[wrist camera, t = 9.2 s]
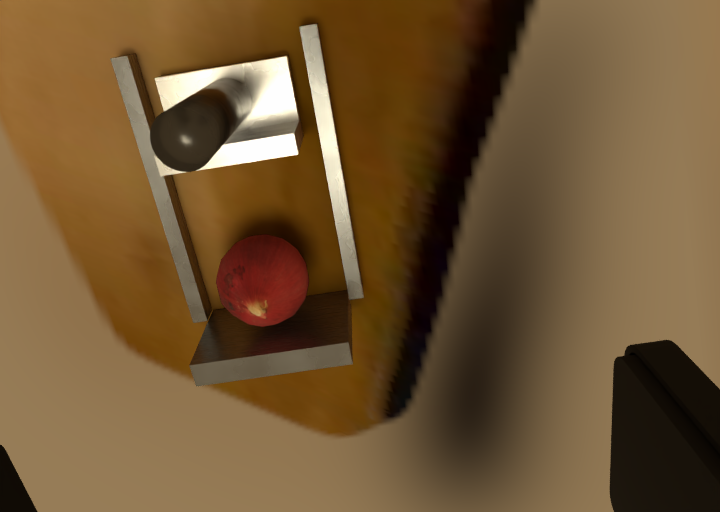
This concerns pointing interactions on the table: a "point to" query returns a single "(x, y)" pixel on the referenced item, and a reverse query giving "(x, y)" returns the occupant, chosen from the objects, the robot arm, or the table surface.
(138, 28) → the table surface
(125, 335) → the table surface
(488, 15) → the table surface
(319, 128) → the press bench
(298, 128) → the carriage
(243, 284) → the pomegranate
